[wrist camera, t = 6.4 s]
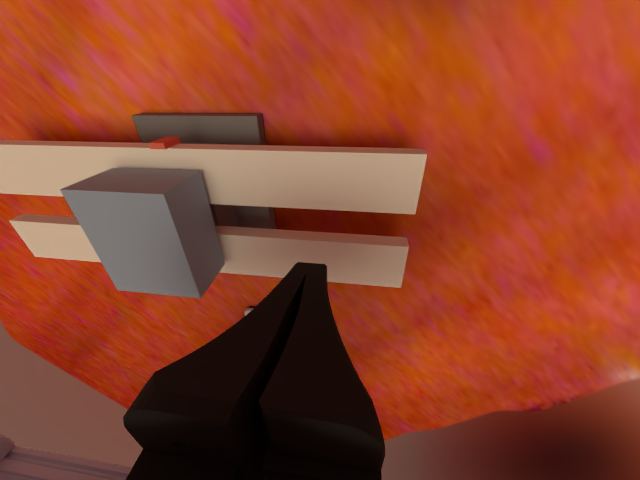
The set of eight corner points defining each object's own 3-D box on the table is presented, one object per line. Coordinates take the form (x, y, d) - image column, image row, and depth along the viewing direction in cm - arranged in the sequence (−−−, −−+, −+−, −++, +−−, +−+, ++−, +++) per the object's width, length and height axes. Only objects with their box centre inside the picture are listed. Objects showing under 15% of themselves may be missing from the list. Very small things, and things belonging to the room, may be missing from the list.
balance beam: (415, 114, 15) (433, 131, 11) (392, 257, 21) (398, 302, 17) (24, 112, 19) (-67, 125, 15) (93, 235, 24) (40, 268, 20)
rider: (208, 165, 14) (163, 194, 11) (230, 256, 18) (200, 298, 14) (124, 163, 15) (59, 189, 12) (160, 251, 18) (117, 289, 15)
